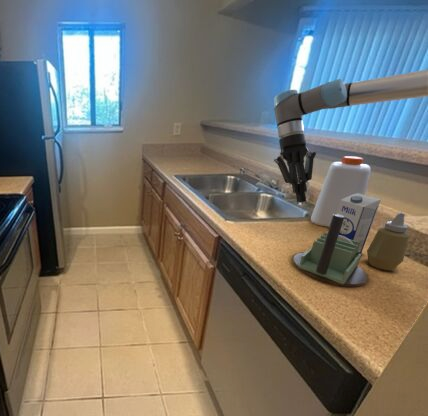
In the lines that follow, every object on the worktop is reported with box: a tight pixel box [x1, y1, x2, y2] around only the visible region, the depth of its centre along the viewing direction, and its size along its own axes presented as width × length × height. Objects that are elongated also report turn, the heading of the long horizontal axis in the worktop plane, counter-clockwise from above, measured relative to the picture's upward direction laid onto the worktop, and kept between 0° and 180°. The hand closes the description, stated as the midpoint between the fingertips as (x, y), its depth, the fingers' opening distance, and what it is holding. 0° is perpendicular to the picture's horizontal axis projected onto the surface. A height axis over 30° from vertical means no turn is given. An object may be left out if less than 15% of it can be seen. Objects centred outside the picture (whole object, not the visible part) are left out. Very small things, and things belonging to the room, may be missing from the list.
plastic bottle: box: [310, 155, 372, 228], centre depth 111 cm, size 15×15×28 cm
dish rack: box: [298, 214, 363, 284], centre depth 81 cm, size 17×11×19 cm, turn 128°
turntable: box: [292, 251, 368, 288], centre depth 85 cm, size 18×18×1 cm
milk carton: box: [337, 193, 382, 256], centre depth 92 cm, size 7×7×20 cm
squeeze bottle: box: [366, 211, 410, 271], centre depth 83 cm, size 8×8×18 cm
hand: (301, 201), depth 96 cm, fingers closed
